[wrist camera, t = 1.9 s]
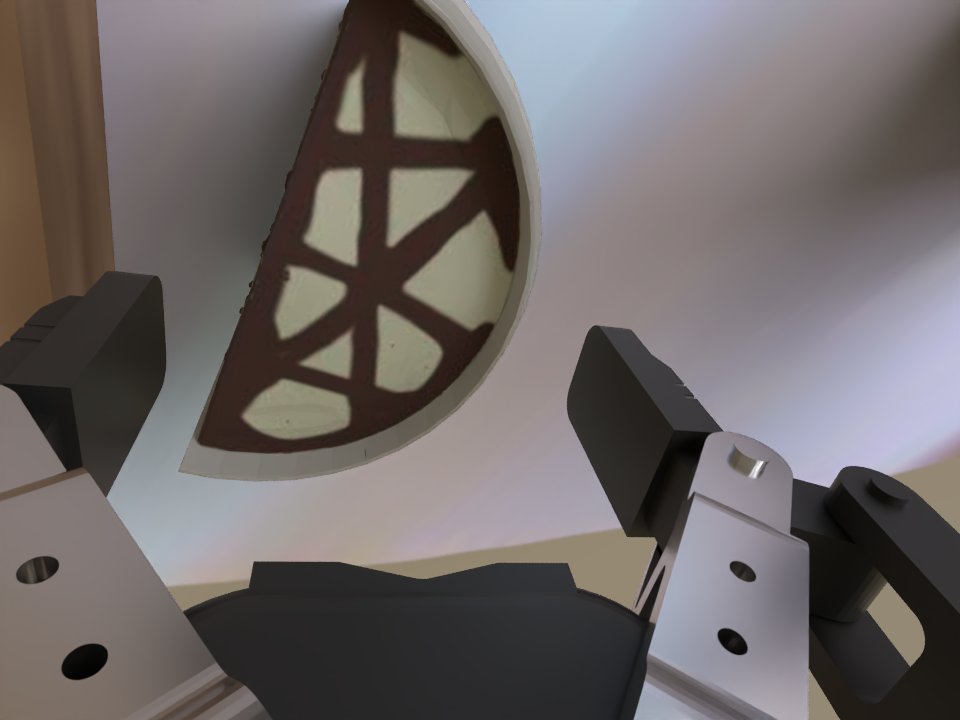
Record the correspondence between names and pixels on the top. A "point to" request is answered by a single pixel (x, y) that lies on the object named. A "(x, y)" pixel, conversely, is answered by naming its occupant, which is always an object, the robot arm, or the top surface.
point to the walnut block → (50, 157)
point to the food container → (382, 253)
